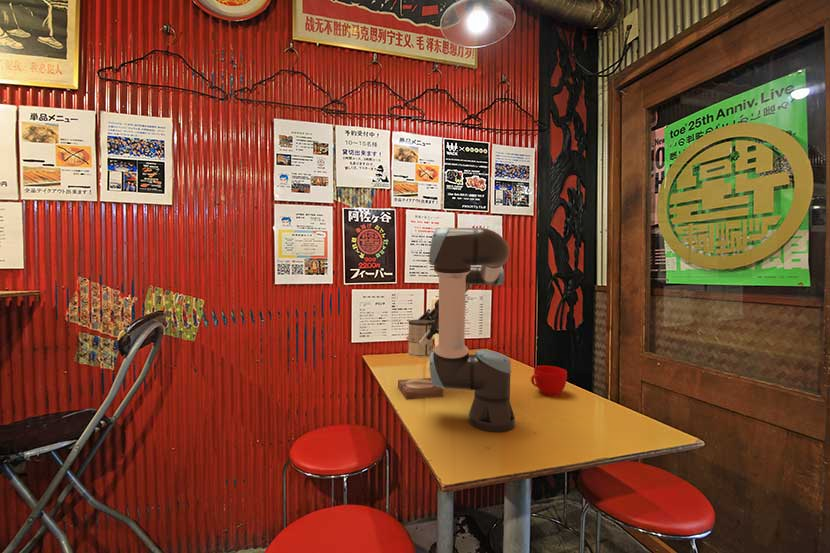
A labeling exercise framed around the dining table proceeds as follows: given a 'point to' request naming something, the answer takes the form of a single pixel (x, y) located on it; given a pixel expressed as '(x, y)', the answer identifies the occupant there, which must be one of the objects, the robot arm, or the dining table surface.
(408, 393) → the base
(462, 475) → the dining table surface
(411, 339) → the coffee can
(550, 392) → the ceramic cup
